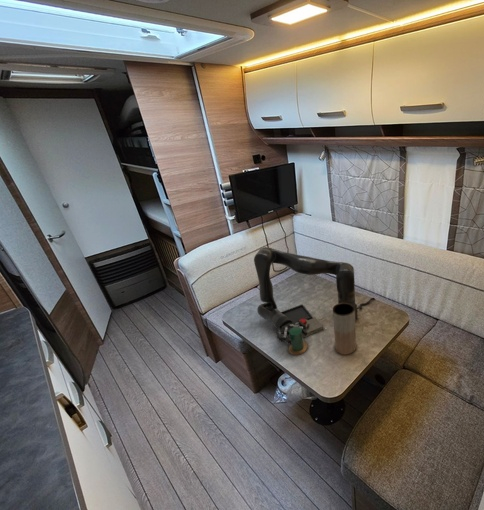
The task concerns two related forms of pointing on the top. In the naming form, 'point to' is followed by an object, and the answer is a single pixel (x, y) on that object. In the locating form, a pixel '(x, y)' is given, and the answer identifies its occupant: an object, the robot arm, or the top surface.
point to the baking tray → (297, 313)
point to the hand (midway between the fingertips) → (298, 338)
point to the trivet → (298, 351)
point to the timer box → (312, 326)
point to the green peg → (296, 338)
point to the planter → (344, 327)
